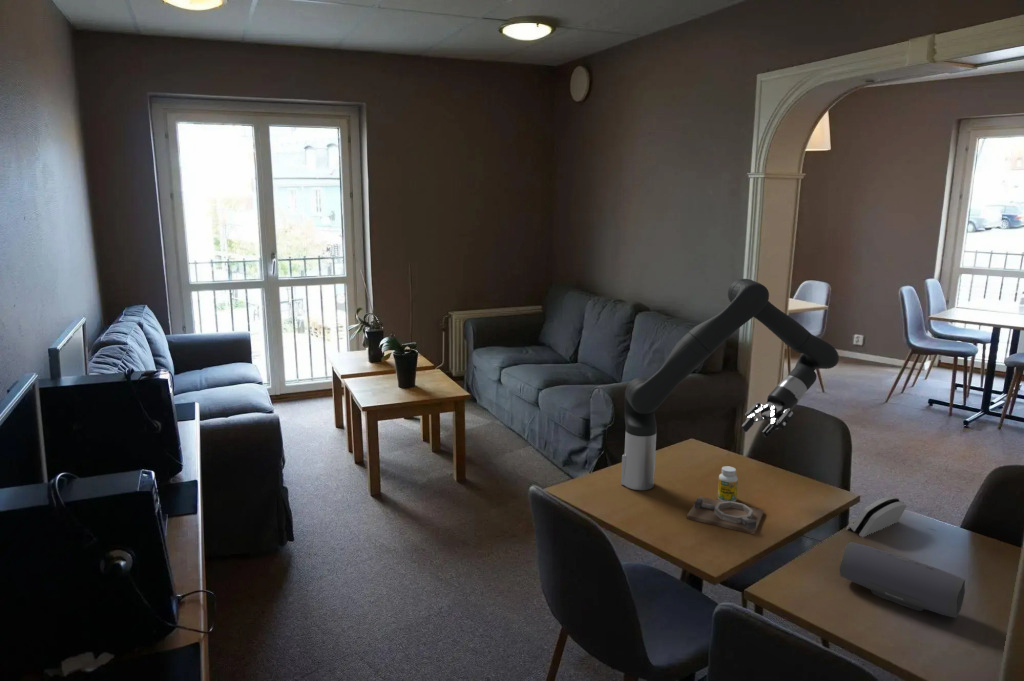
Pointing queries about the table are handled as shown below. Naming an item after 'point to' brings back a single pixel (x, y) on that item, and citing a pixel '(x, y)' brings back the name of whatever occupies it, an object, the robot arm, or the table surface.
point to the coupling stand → (726, 514)
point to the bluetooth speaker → (903, 580)
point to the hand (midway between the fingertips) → (753, 432)
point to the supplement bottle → (727, 484)
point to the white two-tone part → (878, 515)
